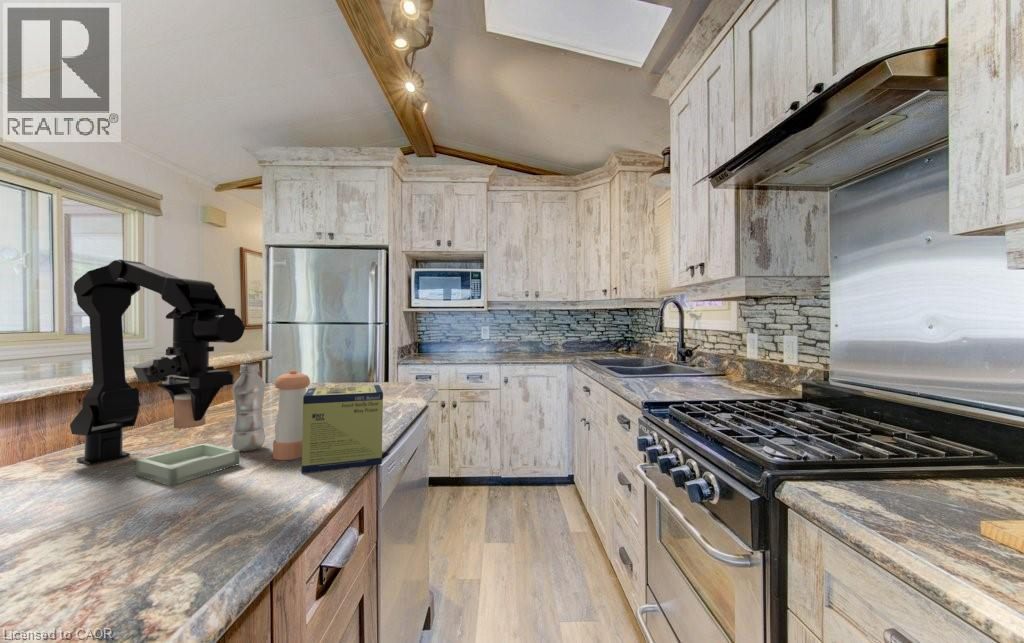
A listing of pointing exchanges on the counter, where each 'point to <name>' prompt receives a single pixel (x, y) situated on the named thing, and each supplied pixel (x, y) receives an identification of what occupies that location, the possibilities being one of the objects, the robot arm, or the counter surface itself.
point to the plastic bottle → (248, 409)
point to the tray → (186, 463)
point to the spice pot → (185, 412)
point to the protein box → (342, 428)
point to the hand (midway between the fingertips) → (189, 419)
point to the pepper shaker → (290, 415)
